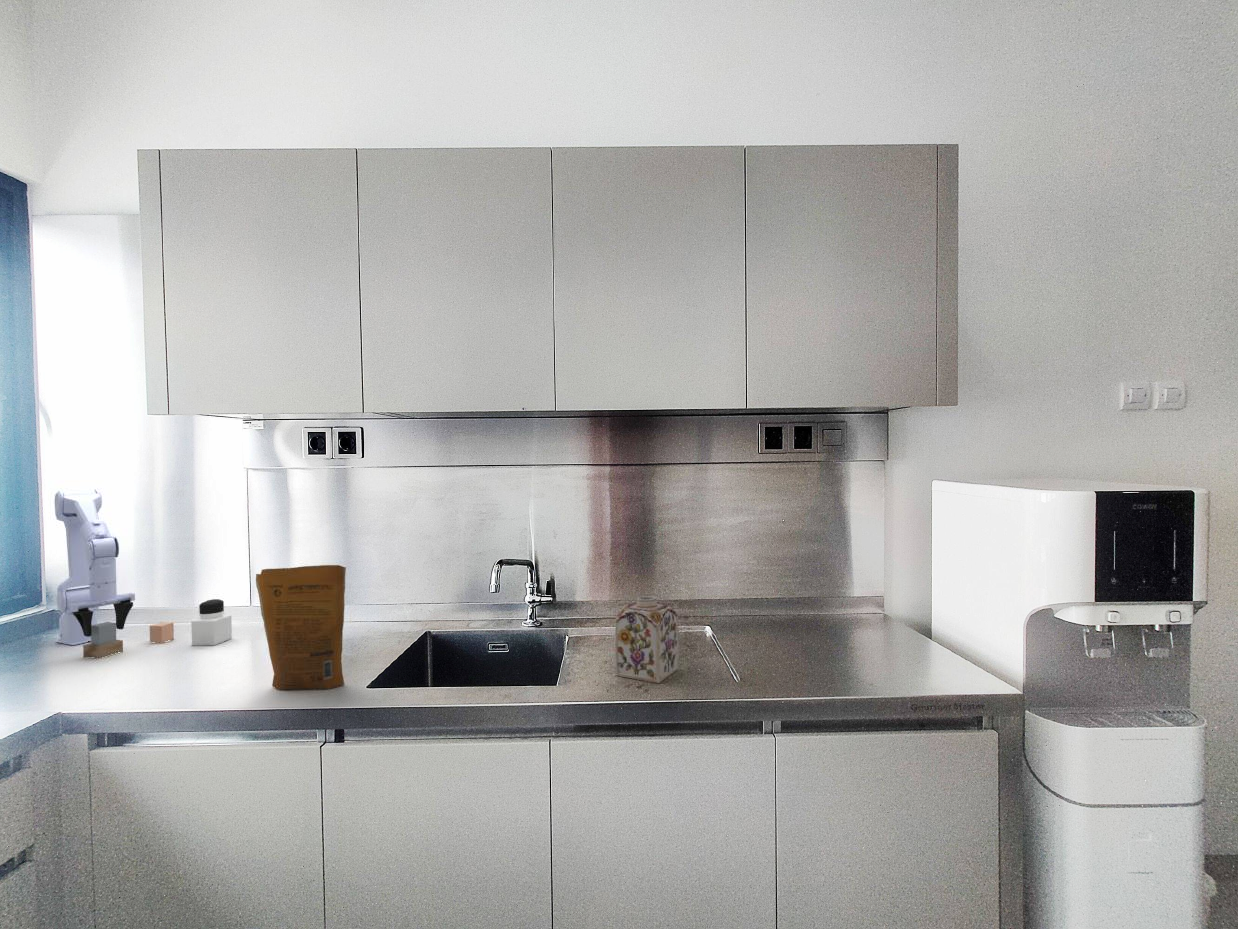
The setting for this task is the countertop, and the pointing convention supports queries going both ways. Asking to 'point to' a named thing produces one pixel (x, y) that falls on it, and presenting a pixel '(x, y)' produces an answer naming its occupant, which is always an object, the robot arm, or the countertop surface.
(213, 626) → the medicine bottle
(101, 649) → the walnut block
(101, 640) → the slate block
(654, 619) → the decorative jar
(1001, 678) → the countertop surface
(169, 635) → the terracotta block
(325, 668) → the pancake mix bag
